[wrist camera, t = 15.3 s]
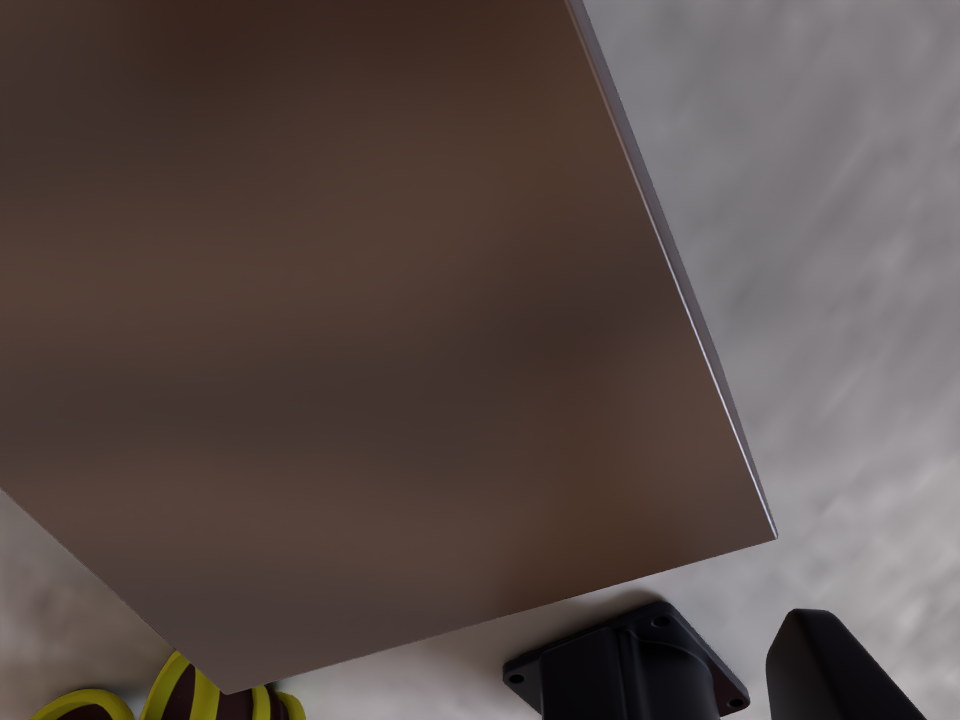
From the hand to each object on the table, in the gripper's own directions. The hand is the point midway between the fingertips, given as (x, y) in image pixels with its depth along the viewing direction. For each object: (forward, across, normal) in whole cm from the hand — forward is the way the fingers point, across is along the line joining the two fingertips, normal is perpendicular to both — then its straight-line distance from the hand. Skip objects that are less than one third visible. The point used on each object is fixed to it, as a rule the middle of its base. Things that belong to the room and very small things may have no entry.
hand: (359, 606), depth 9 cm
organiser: (+13, +2, +3) cm, 13 cm away
